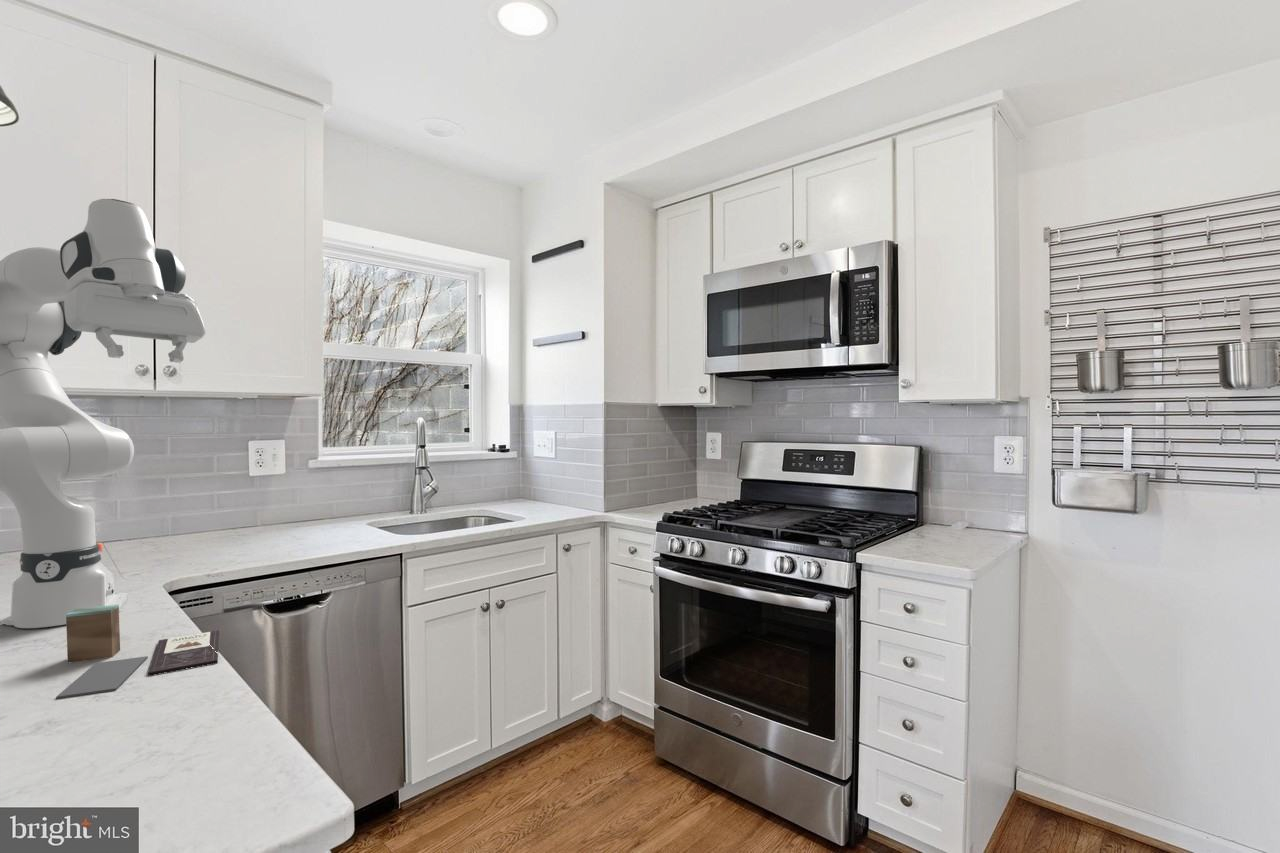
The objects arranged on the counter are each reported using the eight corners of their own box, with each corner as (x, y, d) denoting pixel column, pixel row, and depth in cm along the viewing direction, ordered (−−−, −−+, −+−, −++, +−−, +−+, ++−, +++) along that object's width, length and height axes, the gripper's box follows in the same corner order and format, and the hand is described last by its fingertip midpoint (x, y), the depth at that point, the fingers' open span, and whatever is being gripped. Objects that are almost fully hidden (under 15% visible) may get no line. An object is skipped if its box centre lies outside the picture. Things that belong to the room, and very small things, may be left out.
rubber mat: (95, 664, 106) (95, 662, 106) (147, 657, 108) (147, 656, 108) (56, 698, 93) (56, 696, 93) (116, 690, 95) (116, 688, 95)
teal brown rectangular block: (76, 655, 110) (75, 608, 110) (120, 650, 113) (118, 604, 112) (67, 662, 107) (66, 614, 107) (112, 657, 109) (110, 609, 109)
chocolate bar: (148, 672, 101) (158, 640, 116) (148, 678, 101) (159, 645, 116) (217, 660, 106) (219, 630, 121) (217, 665, 106) (219, 635, 121)
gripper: (185, 302, 125) (199, 369, 123) (52, 282, 107) (67, 360, 105) (204, 289, 123) (219, 357, 121) (72, 265, 104) (87, 346, 102)
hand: (147, 359), depth 113 cm, fingers open, 8 cm apart
